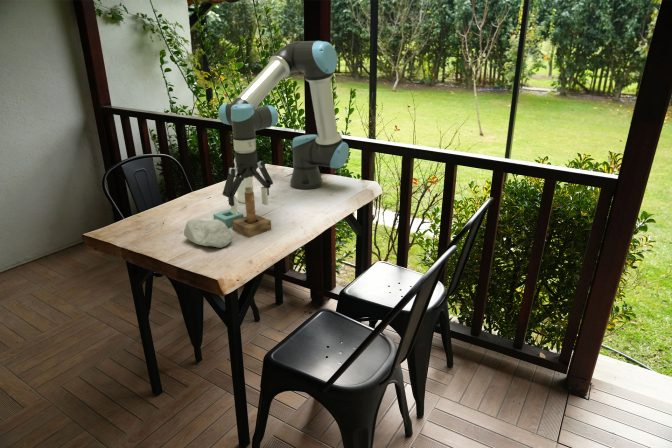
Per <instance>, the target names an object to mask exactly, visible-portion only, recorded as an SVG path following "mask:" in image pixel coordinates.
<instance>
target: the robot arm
mask: <svg viewBox="0 0 672 448" xmlns="http://www.w3.org/2000/svg"><path fill="white" fill-rule="evenodd" d="M337 64H338V55H337V52H336V49H335V47H334V46H333V45H332V44H331V43H330V42H328V41H322V40H308V41H307V40H306V41H303V40H294V41H293V42H289V43H287V44H285V45H283V46H282V47H281V48H279V49H278V50H277V51H276V52H274V54H273V55H271V57H270V58H269V59H268V63H267V65H266V66H265V67H264V68H263V69H262V70H261V71H260V72H259V73H258V74H257V76H255V78H253V80H252V81H250V83H248V85H247V86H246V87H245V88H244V89H243V90H242V91H241V92H240V93H239V95H237V97H235V99H234V100H232V101H231V103H229V102H227V103H223V104H221V105H220V106H219V108H218V112H217V113H218V114H217V115H218V119H219V120H220V122H221V123H223V124H224V125H225V124H226V125H229V126H231V127H232V139H233V140H232V141H233V150H234V159H235V162H236V168H235V167H228V169H227V178H226V180H225V185H224V187H223V190H222V196H223V197H227V198H228V199H227V201H228V205H229V206H230V209H231V212H232V214H235V215H238V212H239V211H238V202H237V201H238V199H237V196H235V195H236V193H237V190H238V188H239V186H240V184H241V182H242V181H243V180H244V178H248V177H254V178H255V179H256V180H257V181H258V182H259V183H260V184H261V187H260V191H261V192H260V193H261V205H264V206H268V205H269V196H270V191H269V190H270V188H271V186H272V185H273V184H274V182H273V179H272V177H271V176H270V174H269V172H268V169H267V168H266V165H265V164H266V162H265V161H263V160H258V153H257V139H256V136H257V135H256V131H261V130H264V129H269V128H271V127H274V126H276V124H277V123H278V122H279V112H278V110H277V109H276V107H274V106H273V105H270V104H269V105H267V104H266V105H263V106H261V105H260V104H261V103H262V101H264V99H265V98H266V97H267V96H268V95H269V94H270V93H271V92H272V91H273V89H274V88H275V87H276V86H277V85H278V84H279V83H280V81H282V79H283V78H284V79H285V78H287V77H289V75H291V74H292V73H299V72H300V73H303V75H304V80H305V81H306V82H308V83H309V89H310V96H311V101H312V102H311V103H312V107H313V112H314V119H315V125H316V130H317V134H304V135H300V136H295V137H293V139H292V146H291V148H292V162H293V163H292V164H293V170H292V172H291V173H292V174H291V178H290V183H289V184H290V185H289V186H290V187H292V188H293V189H299V190H312V189H313V190H314V189H317V188H319V187H322V186H323V178H322V175H321V172H320V169H319V166H320V167H325V168H327V167H328V168H330V169H340V168H342V167H344V166H345V164H346V162H347V160H348V157H349V151H350V149H349V145H348V143H347V142H345V141H343V137H342V134H340V133H338V127H337V120H336V112H335V111H336V110H335V106H334V105H335V103H334V98H333V91H332V82H331V78H332V77H333V76H334V72H335V70H336V69H337V66H338V65H337ZM257 169H259V171H260V172H261V174H260V172H259V171H257ZM236 171H237V172H238V173H237V174H236ZM235 174H236V176H235ZM240 176H241V177H240Z"/></svg>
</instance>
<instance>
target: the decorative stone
mask: <svg viewBox="0 0 672 448" xmlns="http://www.w3.org/2000/svg"><path fill="white" fill-rule="evenodd" d="M183 235H184V237H185V239H187V240H189V241H190V242H192V243H193V244H197V245H198V246H204V247H216V248H224V247H227V246H228V245H229V244H230V243H231V241H232V239H233V236H232V233H231V231H230V229H229V228H227V226H226V225H225V224H224V223H223V222H222V221H220V220H217V219H215V220H214V219H212V220H206V219H199V218H191V219H188V220H187V221H186V223H185V227H184V229H183Z"/></svg>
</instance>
